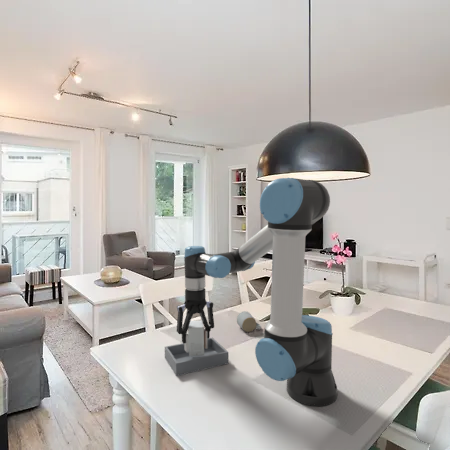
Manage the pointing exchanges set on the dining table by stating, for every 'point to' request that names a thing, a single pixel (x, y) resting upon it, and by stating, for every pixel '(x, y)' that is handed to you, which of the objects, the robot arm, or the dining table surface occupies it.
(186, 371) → the bin
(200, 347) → the small box
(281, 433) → the dining table surface
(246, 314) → the ceramic mug
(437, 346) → the dining table surface
